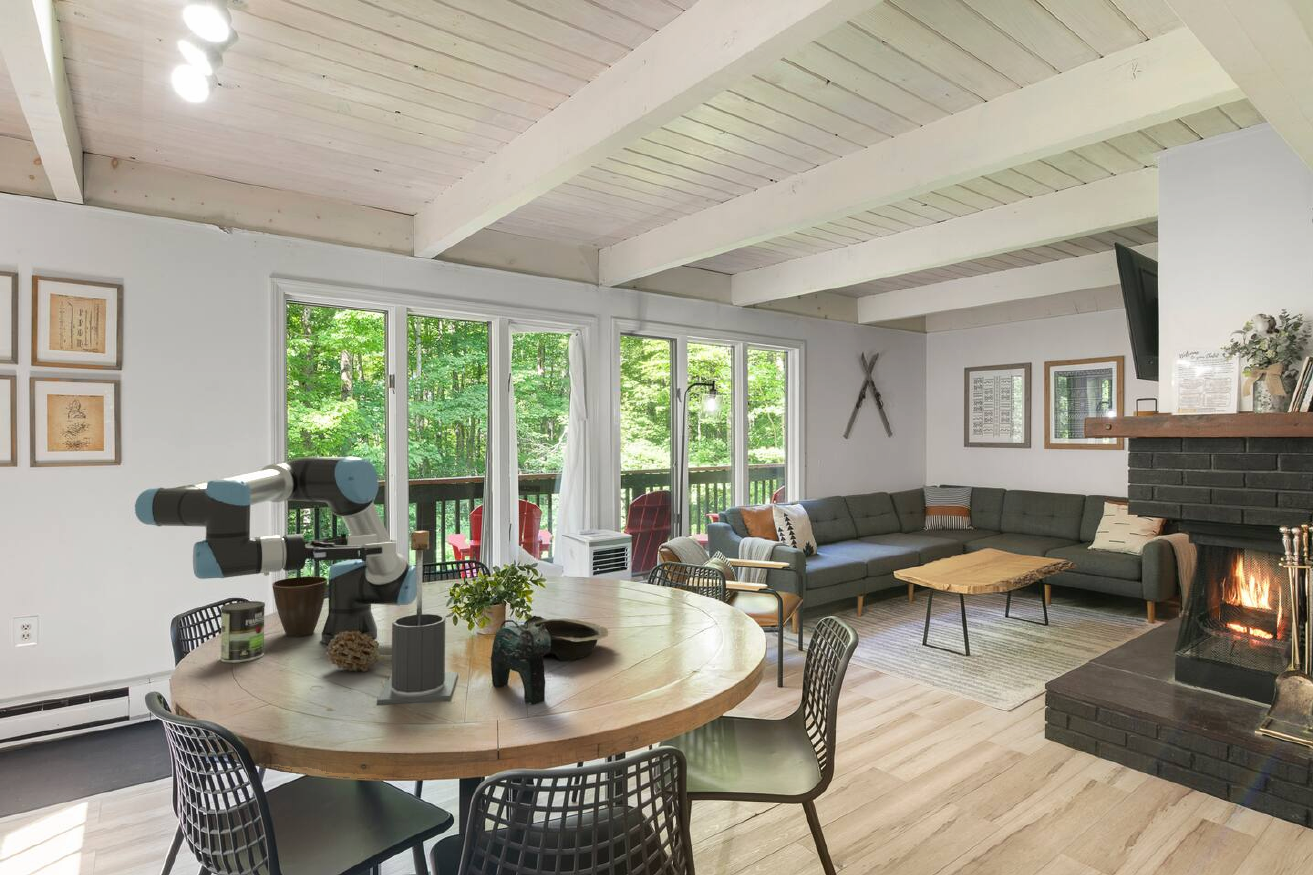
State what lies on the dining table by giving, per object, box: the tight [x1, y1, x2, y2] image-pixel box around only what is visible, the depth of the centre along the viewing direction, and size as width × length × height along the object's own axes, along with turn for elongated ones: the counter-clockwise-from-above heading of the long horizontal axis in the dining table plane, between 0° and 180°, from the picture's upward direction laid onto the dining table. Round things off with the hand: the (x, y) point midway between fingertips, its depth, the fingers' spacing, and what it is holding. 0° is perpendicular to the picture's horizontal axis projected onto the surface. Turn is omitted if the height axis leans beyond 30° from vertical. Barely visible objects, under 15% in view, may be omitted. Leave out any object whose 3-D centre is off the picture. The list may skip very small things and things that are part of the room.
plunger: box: [410, 530, 430, 626], centre depth 162 cm, size 9×9×27 cm
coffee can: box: [220, 600, 266, 664], centre depth 186 cm, size 10×10×14 cm
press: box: [376, 613, 459, 705], centre depth 164 cm, size 16×16×17 cm
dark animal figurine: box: [490, 610, 551, 706], centre depth 162 cm, size 20×6×20 cm, turn 44°
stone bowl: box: [518, 615, 610, 662], centre depth 193 cm, size 25×25×9 cm
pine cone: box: [326, 631, 392, 672], centre depth 176 cm, size 22×10×10 cm, turn 84°
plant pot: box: [271, 575, 328, 638], centre depth 209 cm, size 15×15×16 cm
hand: (386, 543), depth 157 cm, fingers open, 13 cm apart
